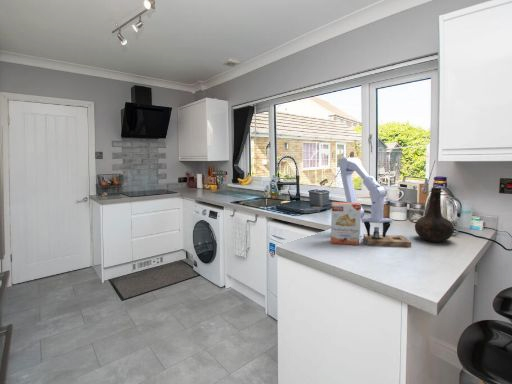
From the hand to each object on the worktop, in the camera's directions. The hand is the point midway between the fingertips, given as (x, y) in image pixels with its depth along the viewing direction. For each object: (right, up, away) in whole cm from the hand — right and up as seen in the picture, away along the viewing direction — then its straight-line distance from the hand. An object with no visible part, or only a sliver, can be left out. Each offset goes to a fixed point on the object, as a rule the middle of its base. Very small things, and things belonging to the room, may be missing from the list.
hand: (376, 236), depth 150 cm
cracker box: (-16, -4, 0) cm, 17 cm away
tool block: (+5, -3, 0) cm, 6 cm away
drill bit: (0, -3, 0) cm, 3 cm away
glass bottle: (+32, -3, +4) cm, 32 cm away
